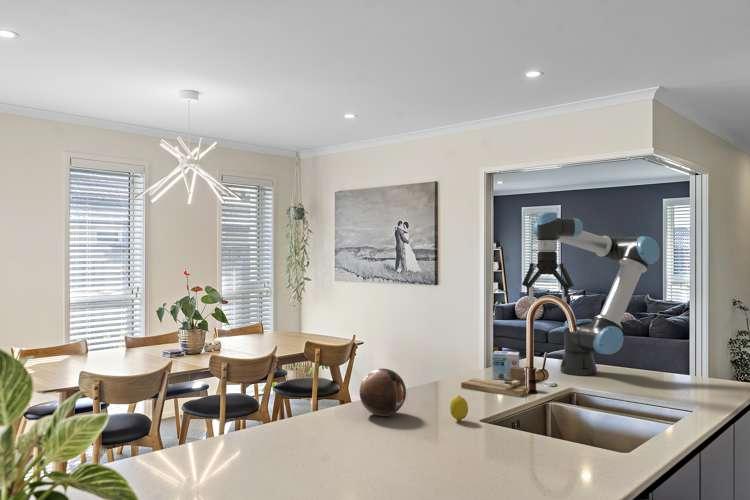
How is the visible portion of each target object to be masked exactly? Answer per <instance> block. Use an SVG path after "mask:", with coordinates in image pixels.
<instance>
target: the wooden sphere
mask: <svg viewBox="0 0 750 500" xmlns="http://www.w3.org/2000/svg"><path fill="white" fill-rule="evenodd" d="M406 388H407V387H406V384H405V382H404V380H403V378H402V377H401V376H400V375H399V374H398V373H397V372H396V371H393V370H391V369H388V368H376V369H373V370H372V371H370V372H369V373H368V374H366V375H365V376H364V377H363V379H362V381H361V382H360V387H359V397H360V401H361V404H362V405H363V407H364V408H365V409H366V411H368V412H369V413H370V414H372V415H375V416H378V417H389V416H392V415H394V414H395V413H397V412H398V411H399V410H400V409H401V408H402V406H403V405H404V403H405V402H406V401H405V400H406V396H407V390H406Z"/></svg>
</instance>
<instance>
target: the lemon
mask: <svg viewBox="0 0 750 500" xmlns="http://www.w3.org/2000/svg"><path fill="white" fill-rule="evenodd" d="M449 411H450V415H451V416H452V418H453V419H455V420H456V421H457V422H461V421H462V420H463V419H466V417H467V416H468V412H469V405H468V402H467V400H466V399H465V398H464V397H462V396H461V395H457V396H456V397H454V398H453V399H452V400H451V401H450V406H449Z"/></svg>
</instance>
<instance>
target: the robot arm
mask: <svg viewBox="0 0 750 500" xmlns="http://www.w3.org/2000/svg"><path fill="white" fill-rule="evenodd" d="M532 228H533V230H532V231H533V234H534V235H535V236H536V237H537V242H536V244H537V247H536V248H537V251H538V252H537V263H534V262H531V263H529V268H528V271H527V272H526V274H525V277H524V279H523V281H522V284H521V285H522V286H524V287H525V288H526V294H527V296H528V304H530V305H531V304H534V287H533V285H534V284H535V283H536V282H537V280H538V279H539V278H540V277H541V276H542V275H550V276H551V275H552V276H554V277H555V279H556V280H557V282H559V284H560V285H561V286H562V289H561V301H562V300H563V301H564V302H566V303H567V297H569V294H570V293H569V289H570V288H574V286H575V285H574V283H573V281H572V279H571V277H570V275H569V272H568V271H567V269H566V263H564V262H563V263H559V264H558V252H557V251H558V242H559V243H563V244H567V245H570V246H572V247H576V248H579V249H583V250H586V251H589V252H593V253H595V254H596V255H597V257H600V258H604V259H607V260H610V261H613V262H616V263H619V264H620V267H619V270H618V272H617V274H616V277H615V279H614V281H613V283H612V286H611V288H610V291H609V293H608V295H607V296H606V300H605V302H604V304H603V306H602V309H601V311H600V314H598V315H595V316H594V317H593V319H592V318H591V319H590V318H588V319H586V318H585V319H575V320H576V326H577V333H575V334H571V333H570V331H569V328H568V323H567V320H566V321H565V322H564V328H563V335H564V336H563V340H564V345H563V347H564V354H563V358H562V361H561V363H560V365H559V366H560V370H559V371H560V372H561V373H564V374H567V375H574V376H594V375H597V374H598V367H597V365H596V364H597V363H596V362H595V358H594V356H593V352H594V353H598V354H601V355H613V354H616V353H617V352H618V351H619V350H620V349H621V348H622V346H623V344H624V333H623V331H622V330H623V326H622V324H621V322H622V320H623V317H624V315H625V313H626V311H627V308H628V306H629V304H630V301H631V299H632V297H633V294H634V292H635V289H636V286H637V285H638V283H639V279H640V277H641V276H642V275H641V274H644V273H646V272H647V271H648V268H649V266H650V265H653V264H655V263H657V262H658V260H659V259H660V253H661V252H660V250H661V249H660V248H659V244H658V242H657V241H656V240H655V238H652V237H650V236H644V235H641V236H619V237H618V236H617V237H614V236H609V235H598V234H594V233H593V232H592V233H591V232H588V231H585V230H583V228H584V227H583V222H582V221H581V220H580V219H579V218H576V217H575V218H574V217H558V214H557V212H551V211H549V212H539V213H537V221H535V223H534V224H533V227H532ZM536 268H537V271H536V272H535V274H534V275H533V273H534V271H535V269H536ZM557 269H559V270H560V271H561V274H562V276H561V275H560V272H558V270H557ZM532 275H533V277H532Z"/></svg>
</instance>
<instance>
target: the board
mask: <svg viewBox="0 0 750 500" xmlns="http://www.w3.org/2000/svg"><path fill="white" fill-rule="evenodd" d="M460 383H461V384H460V388H461V389H466V390H473V391H478V392H479V391H480V392H485V393H492V394H498V395H503V396H504V395H505V396H509V397H517V398H520V397H522V396H524V395H527V394H528V393H527V391H528V387H525V386H523V385H516V386H514V387H512V388H509V389H508V388H504V384H505V382H501V381H495V380H487V379H480V378H471V379H467V380H464V381H462V382H460Z"/></svg>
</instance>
